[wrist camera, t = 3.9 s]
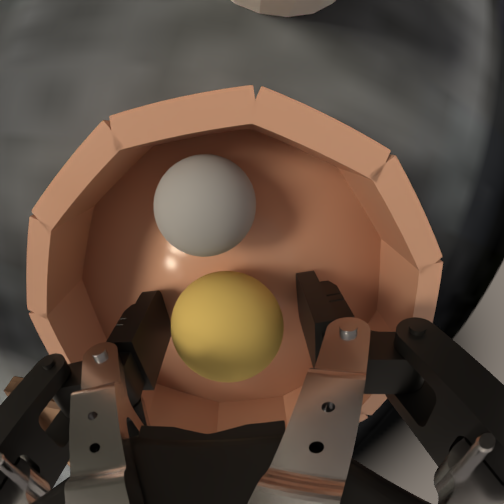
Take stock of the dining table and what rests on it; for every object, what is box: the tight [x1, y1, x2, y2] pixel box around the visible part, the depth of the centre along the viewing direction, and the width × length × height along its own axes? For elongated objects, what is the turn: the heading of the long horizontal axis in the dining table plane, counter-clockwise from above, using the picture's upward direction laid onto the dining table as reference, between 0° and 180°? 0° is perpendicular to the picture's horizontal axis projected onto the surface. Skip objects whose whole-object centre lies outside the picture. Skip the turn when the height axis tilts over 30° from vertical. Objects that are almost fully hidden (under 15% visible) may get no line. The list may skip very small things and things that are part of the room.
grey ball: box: [153, 154, 256, 257], centre depth 9 cm, size 3×3×3 cm
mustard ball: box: [171, 271, 284, 383], centre depth 10 cm, size 4×4×4 cm
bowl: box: [26, 85, 443, 434], centre depth 11 cm, size 15×15×4 cm
